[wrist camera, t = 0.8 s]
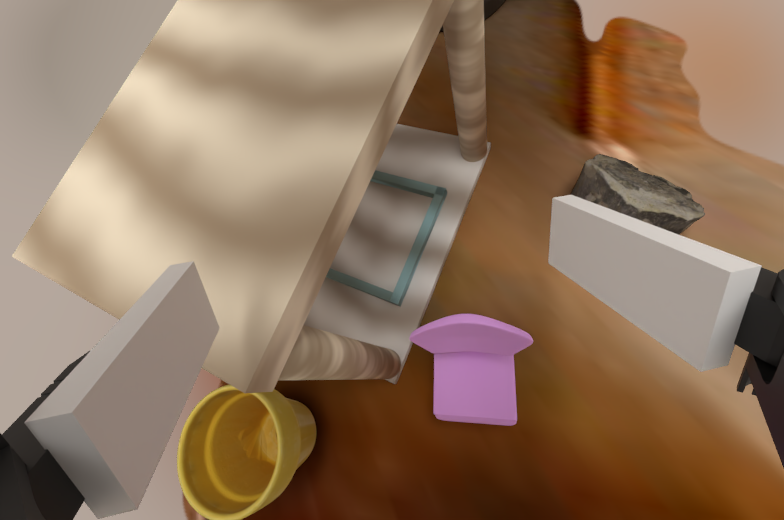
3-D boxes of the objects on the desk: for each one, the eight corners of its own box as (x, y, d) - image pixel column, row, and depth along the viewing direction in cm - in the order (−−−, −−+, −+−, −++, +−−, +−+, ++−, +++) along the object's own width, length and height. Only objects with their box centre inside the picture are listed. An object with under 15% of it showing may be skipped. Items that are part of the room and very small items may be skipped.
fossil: (694, 171, 36) (750, 165, 27) (660, 260, 38) (700, 282, 29) (576, 153, 39) (590, 141, 30) (551, 235, 41) (556, 248, 32)
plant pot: (232, 466, 39) (155, 493, 30) (265, 371, 42) (203, 369, 33) (314, 505, 36) (254, 547, 27) (345, 399, 38) (300, 405, 29)
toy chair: (434, 414, 36) (398, 438, 22) (435, 325, 38) (403, 295, 25) (523, 421, 34) (545, 452, 20) (518, 326, 36) (533, 294, 22)
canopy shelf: (361, 120, 49) (245, -105, 26) (490, 147, 43) (488, -118, 20) (264, 320, 44) (11, 256, 21) (396, 383, 38) (244, 393, 15)
